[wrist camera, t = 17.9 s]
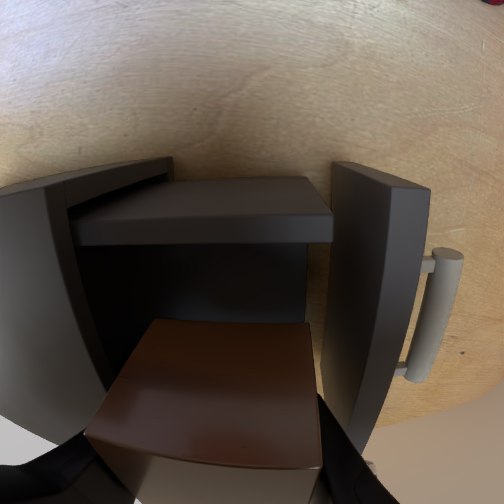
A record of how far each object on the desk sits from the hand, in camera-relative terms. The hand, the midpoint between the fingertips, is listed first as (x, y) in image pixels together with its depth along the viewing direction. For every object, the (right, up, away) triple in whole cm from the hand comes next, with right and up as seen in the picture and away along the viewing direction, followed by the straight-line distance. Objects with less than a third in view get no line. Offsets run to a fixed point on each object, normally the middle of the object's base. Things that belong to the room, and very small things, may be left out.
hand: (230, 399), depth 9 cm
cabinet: (-12, +4, +11) cm, 17 cm away
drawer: (+1, +3, +9) cm, 9 cm away
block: (0, 0, +1) cm, 1 cm away
